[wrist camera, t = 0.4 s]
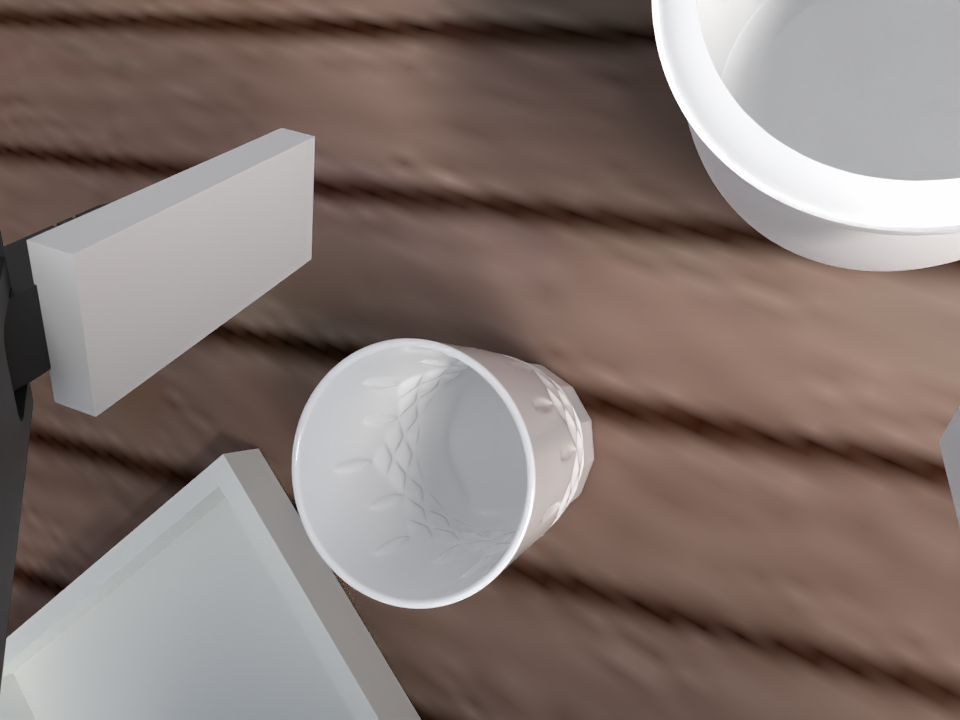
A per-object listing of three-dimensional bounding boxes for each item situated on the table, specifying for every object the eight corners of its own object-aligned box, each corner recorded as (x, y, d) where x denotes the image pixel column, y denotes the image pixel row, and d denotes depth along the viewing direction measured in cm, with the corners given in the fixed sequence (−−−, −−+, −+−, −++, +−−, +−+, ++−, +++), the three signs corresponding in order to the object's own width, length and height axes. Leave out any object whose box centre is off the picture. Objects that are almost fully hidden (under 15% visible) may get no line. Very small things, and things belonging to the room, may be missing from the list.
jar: (881, 358, 28) (970, 352, 14) (656, 179, 31) (544, 27, 17) (1128, 107, 26) (1528, -199, 12) (858, -63, 29) (923, -474, 15)
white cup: (393, 462, 35) (248, 498, 26) (489, 308, 33) (373, 286, 24) (539, 580, 33) (438, 666, 23) (650, 420, 31) (589, 443, 22)
